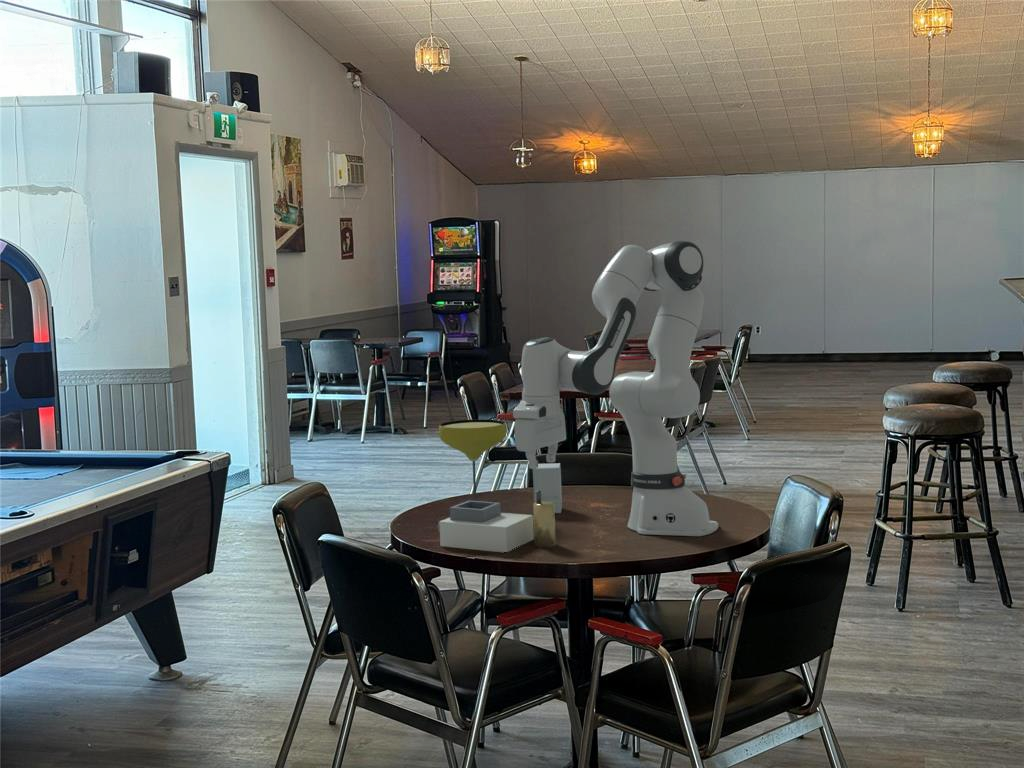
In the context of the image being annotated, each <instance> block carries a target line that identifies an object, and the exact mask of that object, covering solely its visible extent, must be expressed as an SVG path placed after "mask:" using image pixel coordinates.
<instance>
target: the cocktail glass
mask: <svg viewBox="0 0 1024 768" xmlns="http://www.w3.org/2000/svg"><path fill="white" fill-rule="evenodd" d="M438 435H439V439H440V440H441V441H442V442H443V443H444V445H447V446H449V447H451V448H452V449H454V450H457V451H459V452H461V453H463V454H464V455H465V456H466V457H467V458H468V460H470V462H472V475H473V476H472V477H473V479H472V482H473V484H472V485H473V488H472V489H473V500H472V501H478V500H477V486H476V485H477V482H476V461H478V460H479V459H480V457H481V456H482V454H483V453H485V452H486V451H488V450H490V449H492V448H493V447H495V446H497V445H498V444H500V443H502V441H503V440H504V439H505V438H506V436H507V424H506V422H505V421H502V420H499V419H498V420H497V419H461V420H453V421H447V422H443V423H441V424H439V425H438Z"/></svg>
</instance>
